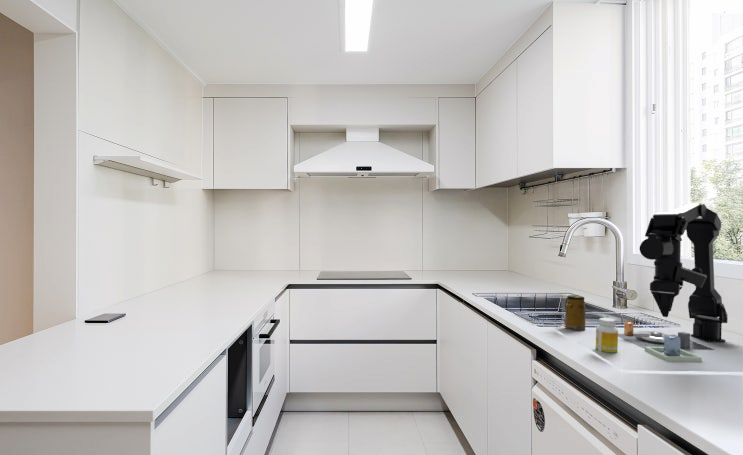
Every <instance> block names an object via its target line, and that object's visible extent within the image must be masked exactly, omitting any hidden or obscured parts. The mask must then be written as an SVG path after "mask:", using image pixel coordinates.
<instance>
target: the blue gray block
mask: <svg viewBox="0 0 743 455" xmlns="http://www.w3.org/2000/svg"><path fill="white" fill-rule="evenodd" d="M672 335H673V334H669V335H665V336H664V352H663V354H664V355H666V356H681V354H680V337H677V336H678V335H677V336H672Z"/></svg>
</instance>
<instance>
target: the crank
mask: <svg viewBox="0 0 743 455" xmlns="http://www.w3.org/2000/svg"><path fill="white" fill-rule="evenodd" d="M623 324H624V327H623V328H624V332H623V334H624V335H625V336H630V337H632V336H636V337H637V338H639V339H642V340H646V341H650V342H656V343H664V336H665V335H670V334H669V333H664V332H661V331H655V330H654V331H653V330H652V331H648V330H647V331H646V330H642V331H641V330H640V331H634V326H635V325H634V322H631V321H624V323H623Z"/></svg>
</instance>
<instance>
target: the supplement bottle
mask: <svg viewBox="0 0 743 455" xmlns="http://www.w3.org/2000/svg"><path fill="white" fill-rule="evenodd" d="M598 319H599V320H598V323H599V324H598V325H597V326H596V330H595V351H597V352H600V353H604V354H605V353H606V354H617V353H618V350H619V348H618V346H619V345H618V344H619V343H618V342H619V337H618V334H619V329H618V328H617V327H616V322H617V321H616V319H615V318H610V317H609V318H608V317H600V318H598Z"/></svg>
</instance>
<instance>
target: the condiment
mask: <svg viewBox="0 0 743 455" xmlns="http://www.w3.org/2000/svg"><path fill="white" fill-rule="evenodd" d="M566 297H567V298H566V299H567V300H566V304H565V324H564V325H565V329H566V330H567V331H568V330H569V331H573V332H584V331H586V305H585V297H584V296H582V295H572V294H571V295H567V296H566Z"/></svg>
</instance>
